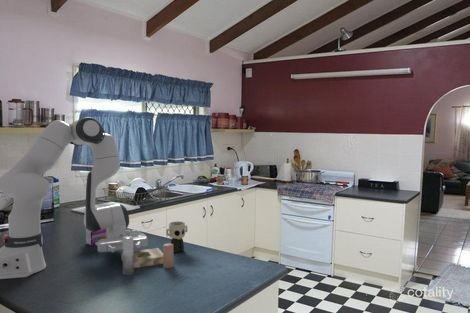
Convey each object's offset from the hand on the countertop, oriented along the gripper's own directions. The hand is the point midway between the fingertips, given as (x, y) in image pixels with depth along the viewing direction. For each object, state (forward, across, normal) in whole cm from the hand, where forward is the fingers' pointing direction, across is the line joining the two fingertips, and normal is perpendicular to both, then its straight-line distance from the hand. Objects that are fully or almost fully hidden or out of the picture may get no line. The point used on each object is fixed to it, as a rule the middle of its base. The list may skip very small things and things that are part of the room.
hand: (126, 248), depth 154 cm
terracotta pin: (+5, +16, +8) cm, 19 cm away
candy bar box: (-41, -6, +8) cm, 43 cm away
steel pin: (+5, 0, +8) cm, 9 cm away
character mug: (-12, +25, +8) cm, 29 cm away
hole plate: (-5, +8, +8) cm, 13 cm away
